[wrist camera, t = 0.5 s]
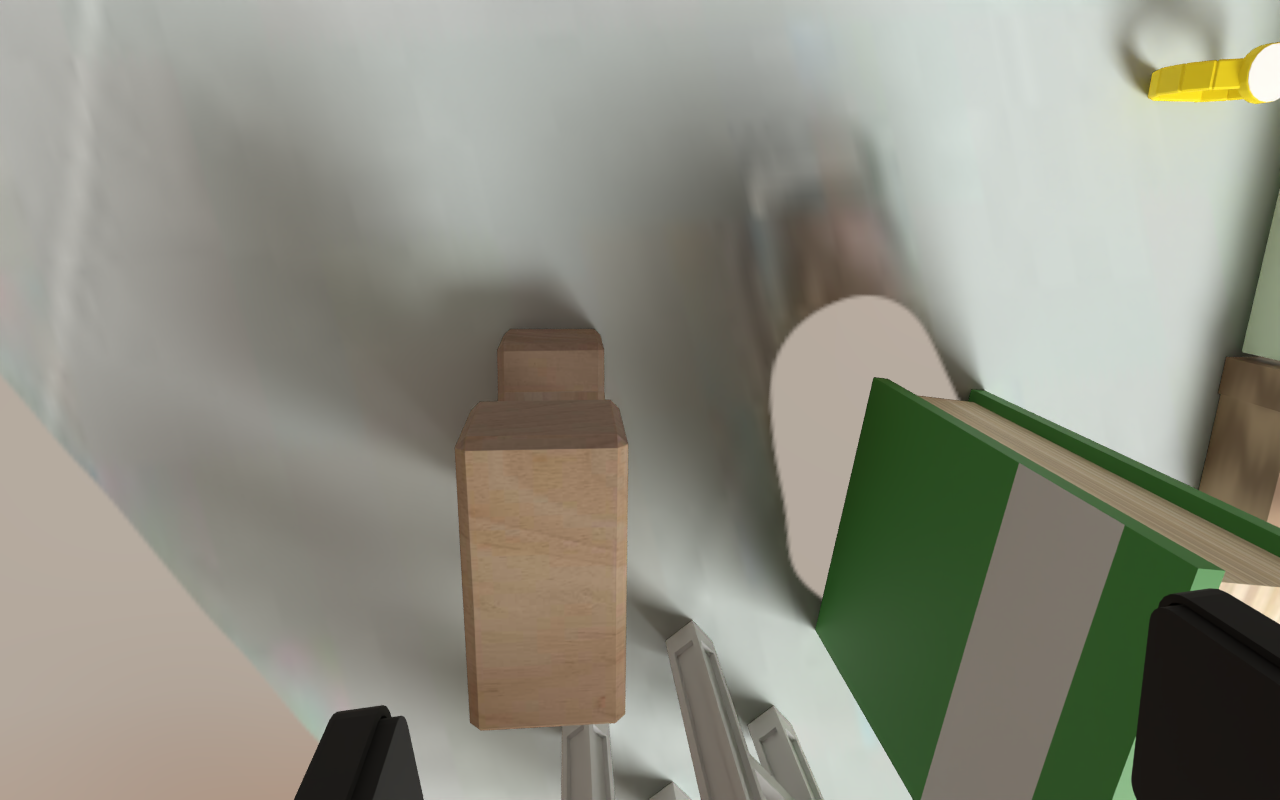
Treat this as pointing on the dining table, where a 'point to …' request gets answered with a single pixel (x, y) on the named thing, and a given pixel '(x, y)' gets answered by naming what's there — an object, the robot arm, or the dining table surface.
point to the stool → (700, 740)
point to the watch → (1222, 79)
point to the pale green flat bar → (1267, 300)
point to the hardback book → (1014, 594)
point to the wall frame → (1246, 439)
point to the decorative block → (544, 537)
